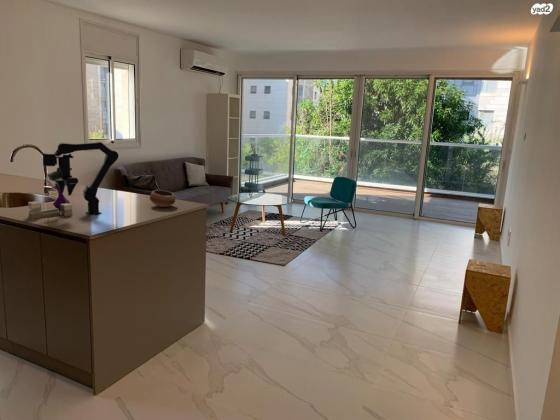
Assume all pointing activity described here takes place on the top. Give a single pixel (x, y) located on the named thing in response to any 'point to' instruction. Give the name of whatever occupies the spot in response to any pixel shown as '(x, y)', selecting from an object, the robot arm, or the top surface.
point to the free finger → (66, 209)
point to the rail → (41, 211)
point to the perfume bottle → (59, 198)
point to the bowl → (162, 198)
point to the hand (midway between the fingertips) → (65, 194)
